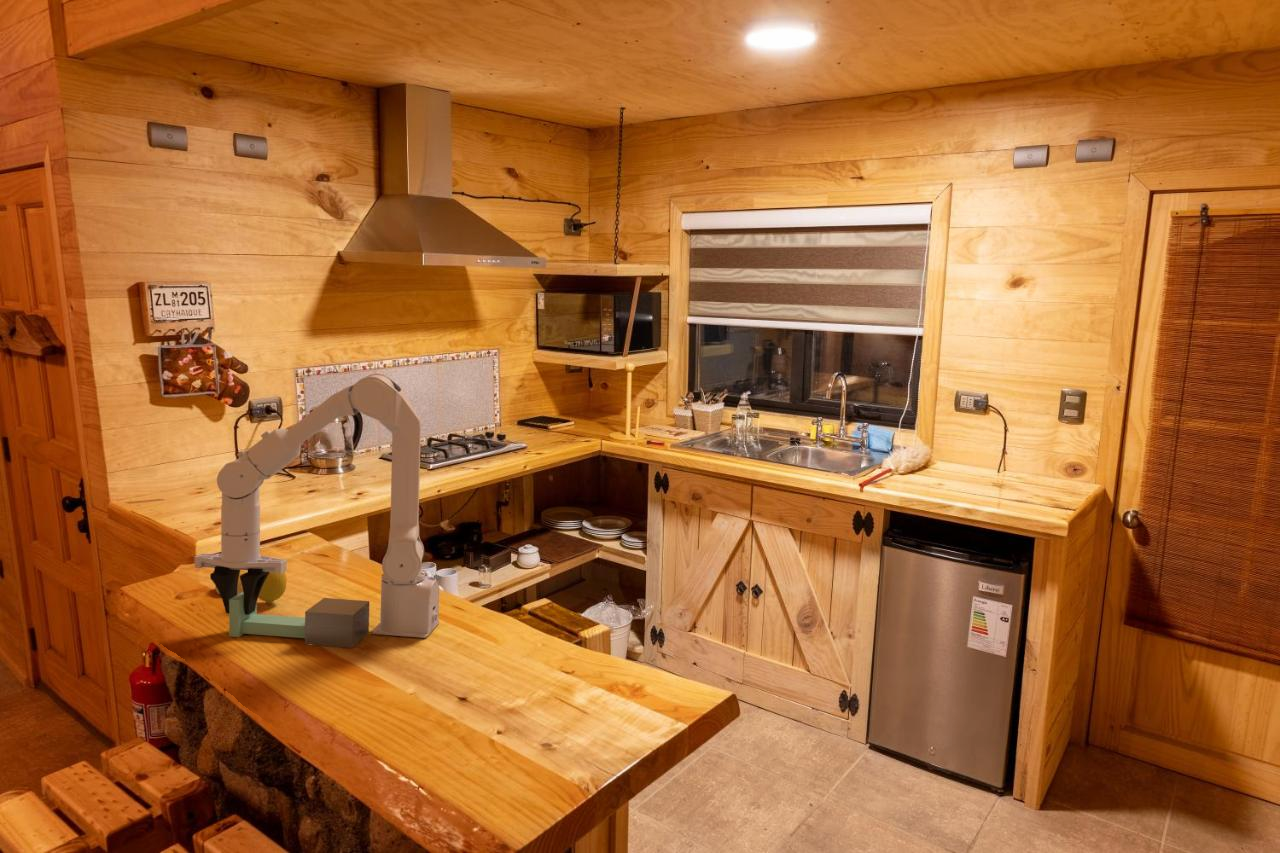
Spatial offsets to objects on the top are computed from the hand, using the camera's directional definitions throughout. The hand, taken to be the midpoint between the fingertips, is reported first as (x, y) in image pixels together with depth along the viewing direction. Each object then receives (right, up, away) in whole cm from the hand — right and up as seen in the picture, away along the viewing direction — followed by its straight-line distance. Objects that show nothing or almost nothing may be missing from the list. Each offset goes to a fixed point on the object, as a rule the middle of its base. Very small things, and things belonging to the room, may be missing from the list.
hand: (240, 612), depth 135 cm
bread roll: (-10, -1, +20) cm, 23 cm away
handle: (+5, -4, 0) cm, 6 cm away
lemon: (-1, -2, +14) cm, 14 cm away
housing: (+16, -4, 0) cm, 16 cm away
